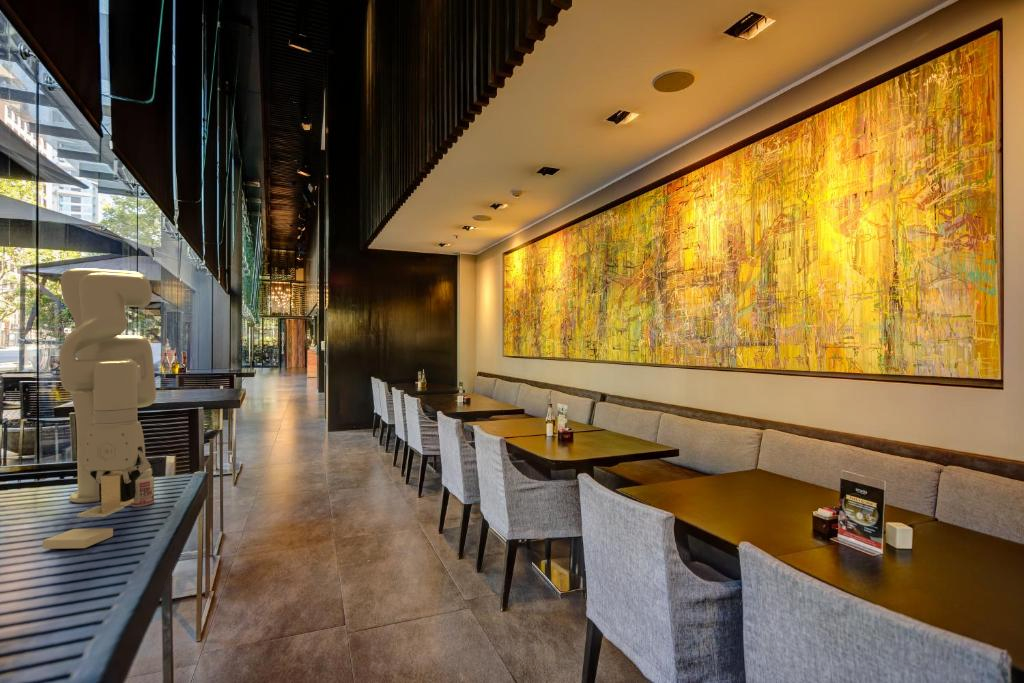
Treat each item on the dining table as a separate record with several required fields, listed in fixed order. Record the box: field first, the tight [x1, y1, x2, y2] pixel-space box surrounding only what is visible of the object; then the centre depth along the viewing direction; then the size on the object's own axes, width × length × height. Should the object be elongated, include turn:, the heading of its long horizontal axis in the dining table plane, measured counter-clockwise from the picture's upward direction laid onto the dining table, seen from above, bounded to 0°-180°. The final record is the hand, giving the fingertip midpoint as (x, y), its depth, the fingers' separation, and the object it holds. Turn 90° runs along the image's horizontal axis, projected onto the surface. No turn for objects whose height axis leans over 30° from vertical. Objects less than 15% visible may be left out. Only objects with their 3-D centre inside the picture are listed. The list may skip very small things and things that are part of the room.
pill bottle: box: [129, 468, 155, 508], centre depth 124 cm, size 5×5×8 cm
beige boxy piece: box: [77, 470, 134, 518], centre depth 108 cm, size 9×6×7 cm, turn 1°
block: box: [42, 527, 114, 550], centre depth 100 cm, size 2×8×7 cm
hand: (117, 499), depth 110 cm, fingers closed on beige boxy piece, 4 cm apart
